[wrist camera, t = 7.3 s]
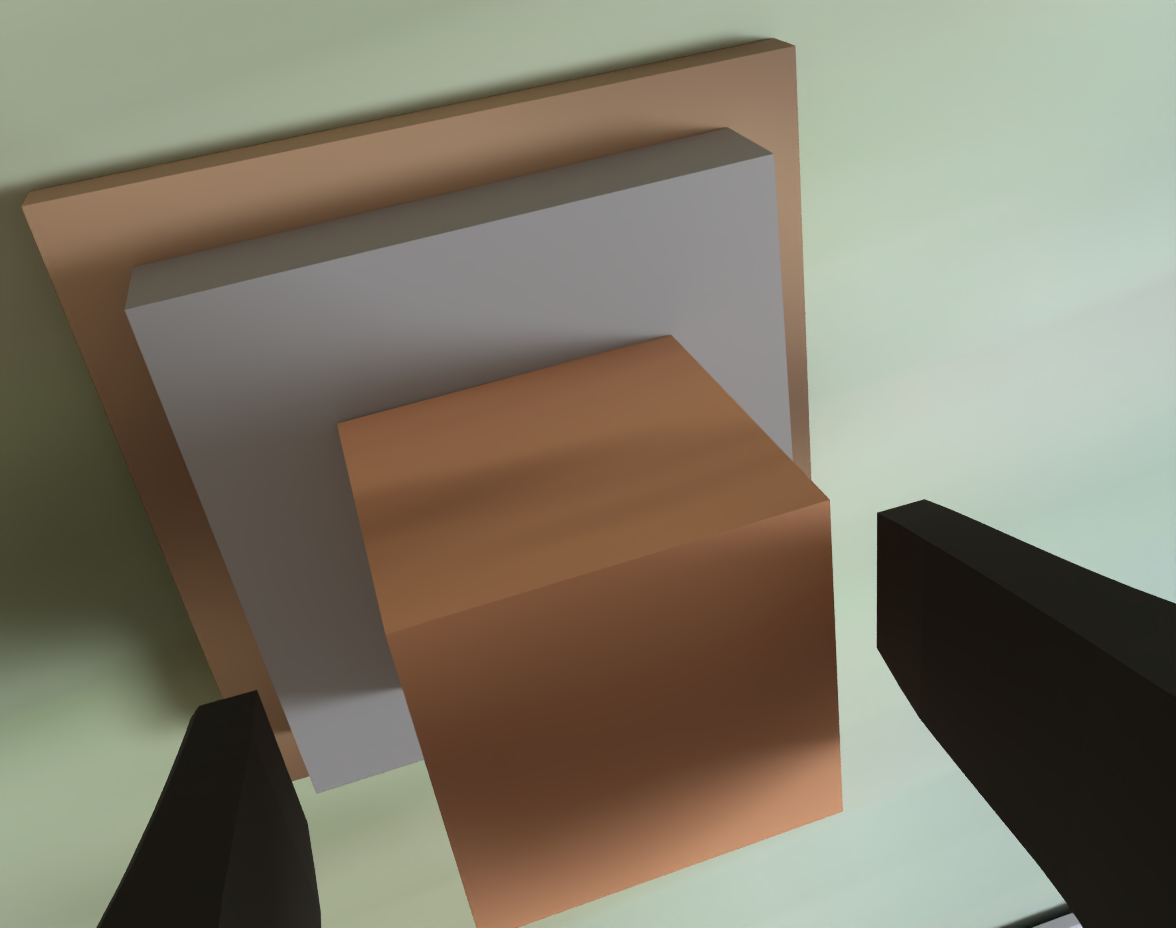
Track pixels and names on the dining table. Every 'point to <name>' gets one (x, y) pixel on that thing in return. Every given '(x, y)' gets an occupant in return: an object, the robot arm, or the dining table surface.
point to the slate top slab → (433, 373)
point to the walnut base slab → (354, 186)
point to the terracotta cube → (602, 623)
